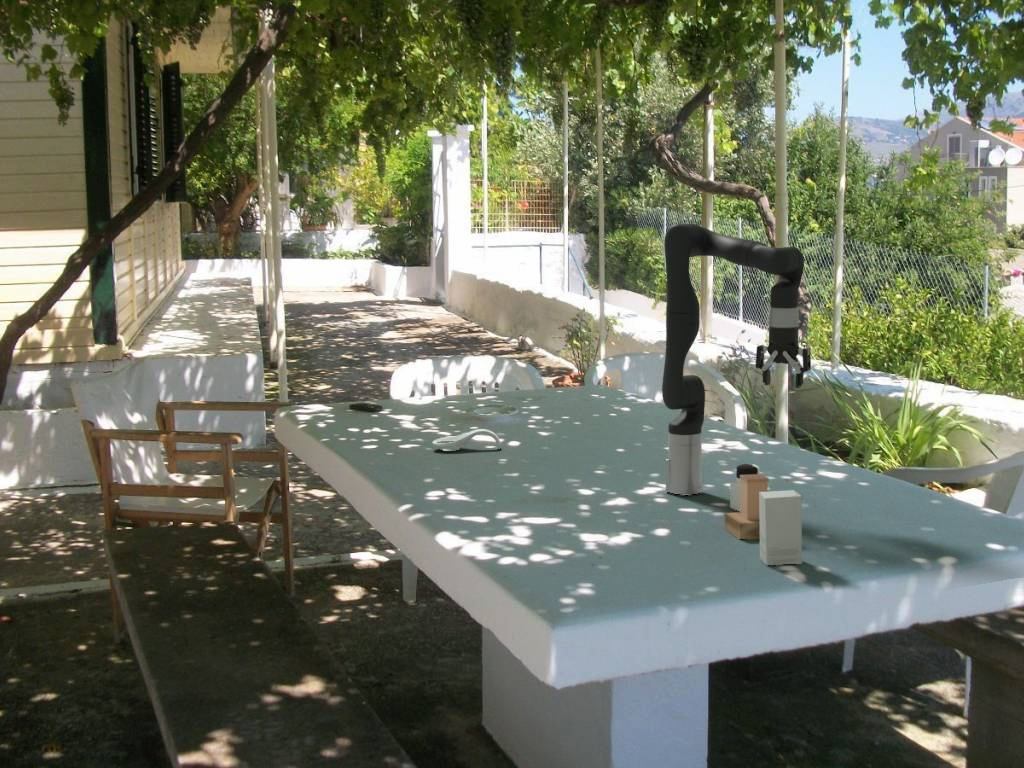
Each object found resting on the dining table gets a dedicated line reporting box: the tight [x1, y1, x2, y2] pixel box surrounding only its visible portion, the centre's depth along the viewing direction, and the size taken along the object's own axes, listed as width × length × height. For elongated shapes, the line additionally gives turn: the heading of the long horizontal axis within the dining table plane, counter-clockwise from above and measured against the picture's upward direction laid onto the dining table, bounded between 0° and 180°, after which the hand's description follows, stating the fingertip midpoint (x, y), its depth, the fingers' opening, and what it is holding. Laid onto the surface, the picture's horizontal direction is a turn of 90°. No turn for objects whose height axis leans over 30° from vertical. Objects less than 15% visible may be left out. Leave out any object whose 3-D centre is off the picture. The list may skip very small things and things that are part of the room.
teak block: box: [724, 511, 760, 540], centre depth 290 cm, size 11×11×4 cm
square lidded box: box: [740, 473, 770, 520], centre depth 289 cm, size 5×5×10 cm
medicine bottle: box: [729, 463, 761, 512], centre depth 314 cm, size 7×7×12 cm
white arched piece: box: [432, 428, 501, 447], centre depth 412 cm, size 24×12×7 cm, turn 91°
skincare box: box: [759, 489, 803, 567], centre depth 263 cm, size 8×7×16 cm
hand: (782, 386), depth 312 cm, fingers open, 8 cm apart
